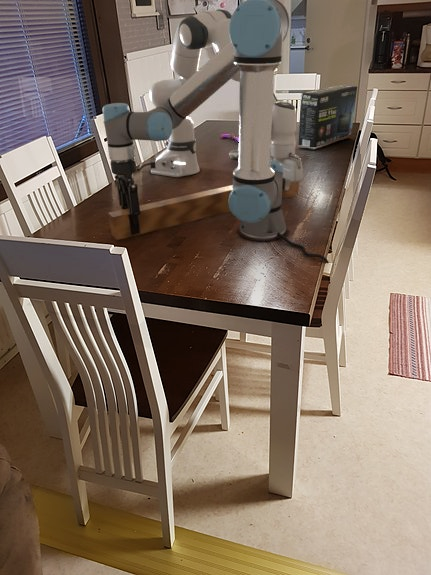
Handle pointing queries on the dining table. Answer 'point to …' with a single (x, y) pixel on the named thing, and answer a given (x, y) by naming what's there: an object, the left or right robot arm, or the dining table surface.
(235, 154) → the fossil
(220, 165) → the dining table surface
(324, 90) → the router box
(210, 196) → the bar
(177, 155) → the left robot arm
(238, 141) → the purple curved segmented piece
